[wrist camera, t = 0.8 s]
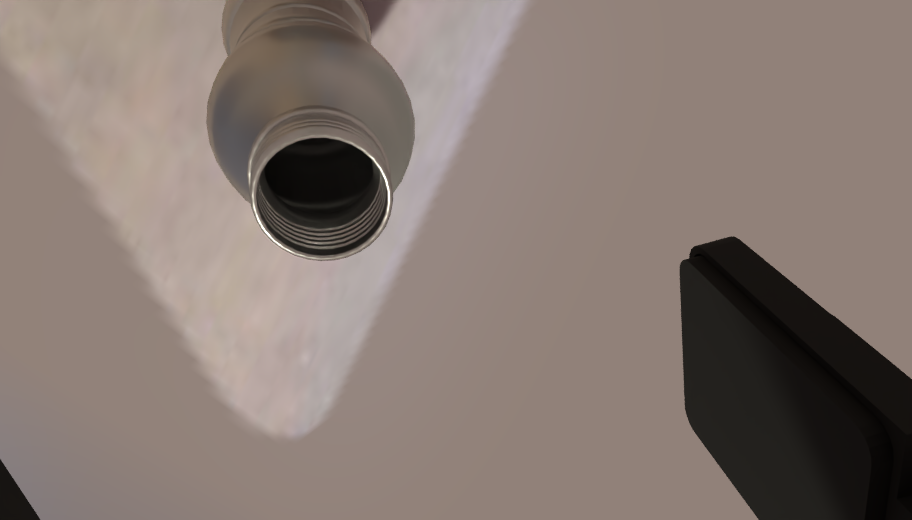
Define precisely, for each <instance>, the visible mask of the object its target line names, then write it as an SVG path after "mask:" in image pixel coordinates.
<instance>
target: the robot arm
mask: <svg viewBox="0 0 912 520" xmlns="http://www.w3.org/2000/svg"><path fill="white" fill-rule="evenodd" d="M689 257H690V258H689V259H686V260H683V261H682V262H681V265H680V292H681V317H682V318H681V319H682V344H683V369H684V395H685V410H686V414H687V417H688V420H689V423H690V425H691V427H692V429H693V430H694V432H695V433H696V435H697V436H698V437H699V439H700V440H701V441H702V443H703V444H704V446H705V447H706V448H707V450H708V451H709V452H710V454H711V455H712V456H713V458H714V459H715V460H716V462H717V463H718V465H719V466H720V467H721V469H722V470H723V471H724V473H725V474H726V476H727V477H728V478H729V479H730V481H731V482H732V484H733V485H734V486H735V488H736V489H737V490H738V492H739V493H740V495H741V496H742V497H743V499H744V500H745V501H746V503H747V504H748V506H749V507H750V508H751V509H752V511H753V512H754V514H755V515H756V516H757V518H758V519H759V520H912V379H911V378H910V377H908V376H907V375H906V374H905V373H903V372H902V371H901V370H900V369H899V368H897V367H896V366H895V365H893V364H892V363H891V362H890V361H889V360H888V359H886V358H885V357H884V356H883V355H881V354H880V353H879V352H878V351H876V350H875V349H874V348H873V347H872V346H870V345H869V344H868V343H867V342H865V341H864V340H863V339H862V338H861V337H859V336H858V335H857V334H855V333H854V332H853V331H852V330H851V329H849V328H848V327H847V326H846V325H844V324H843V323H842V322H841V321H840V320H839V319H837V318H836V317H835V316H833V315H831V314H830V313H829V312H827V311H826V310H825V309H824V308H822V307H821V306H820V305H819V304H818V303H816V302H815V301H814V300H813V299H812V298H810V297H809V296H808V295H807V294H805V293H804V292H803V291H802V290H801V289H799V288H798V287H797V286H796V285H794V284H793V283H792V282H791V281H790V280H788V279H787V278H786V277H785V276H783V275H782V274H781V273H780V272H779V271H777V270H776V269H775V268H774V267H772V266H771V265H770V264H769V263H767V262H766V261H765V260H764V259H763V258H761V257H760V256H759V255H758V254H757V253H755V252H754V251H753V250H752V249H750V248H749V247H748V246H747V245H746V244H744V243H743V242H742V241H741V240H739V239H738V238H736V237H727V238H724V239H720V240H716V241H713V242H709V243H705V244H702V245H698V246H694V247H693V248H692V249H691V252H690V256H689ZM0 520H40V519H39V517H38V515H37V514H36V512H35V511H34V509H33V508H32V507H31V505H30V504H29V502H28V500H27V499H26V497H25V496H24V494H23V493H22V491H21V490H20V488H19V487H18V485H17V484H16V482H15V481H14V479H13V478H12V476H11V475H10V473H9V472H8V470H7V469H6V467H5V466H4V464H3V463H2V461H1V460H0Z"/></svg>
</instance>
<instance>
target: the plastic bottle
mask: <svg viewBox="0 0 912 520" xmlns="http://www.w3.org/2000/svg"><path fill="white" fill-rule="evenodd" d="M222 36H223V44H224V47H225V50H226V53H227V56H228V57H227V58H226V60H225V61H224V63H223V65H222V67H221V69H220V70H219V72H218V74H217V76H216V78H215V81H214V83H213V86H212V89H211V93H210V96H209V99H208V105H207V120H206V123H207V130H208V137H209V143H210V145H211V148H212V151H213V153H214V156H215V159H216V161H217V163H218V165H219V166H220V168H221V169H222V171H223V173H224V174H225V176H226V178H227V179H228V180H229V182H230V183H231V184H232V186H233V187H234V188H235V189H236V190H237V191H238V192H239V193H240V195H241V196H242V197H243V198H244V199H245V200H246V201H247V202H249V203H250V204H251V207H252V210H253V213H254V216H255V218H256V221H257V222H258V224H259V226H260V227H261V229H262V231H263V232H264V233H265V234H266V235H267V236H268V238H269V239H270V240H271V241H272V242H273V243H275V244H276V245H277V246H279V247H280V248H282V249H283V250H285V251H287V252H289V253H291V254H293V255H295V256H298V257H302V258H305V259H309V260H318V261H329V260H337V259H342V258H346V257H349V256H351V255H354V254H356V253H359V252H360V251H362V250H363V249H365V248H366V247H368V246H369V245H371V244H372V243H373V242H374V241H375V240H376V239H377V238H378V237H379V235H380V234H381V232H382V231H383V230H384V228H385V227H386V224H387V222H388V220H389V217H390V214H391V209H392V204H393V193H394V191H395V190H396V188H397V187H398V185H399V184H400V182H401V181H402V179H403V176H404V174H405V172H406V169H407V167H408V164H409V161H410V158H411V154H412V149H413V144H414V139H415V120H414V115H413V110H412V105H411V101H410V98H409V96H408V94H407V91H406V89H405V87H404V84H403V82H402V81H401V79H400V78H399V76H398V75H397V73H396V72H395V70H394V69H393V68H392V66H391V65H390V64H389V63H388V61H387V60H386V59H385V58H384V57H383V56H382V55H381V54H380V53H379V52H378V51H377V50H376V49H375V48H374V47H373V46H372V45H371V30H370V25H369V21H368V16H367V14H366V12H365V9H364V7H363V5H362V2H361V1H360V0H226V3H225V7H224V10H223V15H222Z"/></svg>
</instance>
